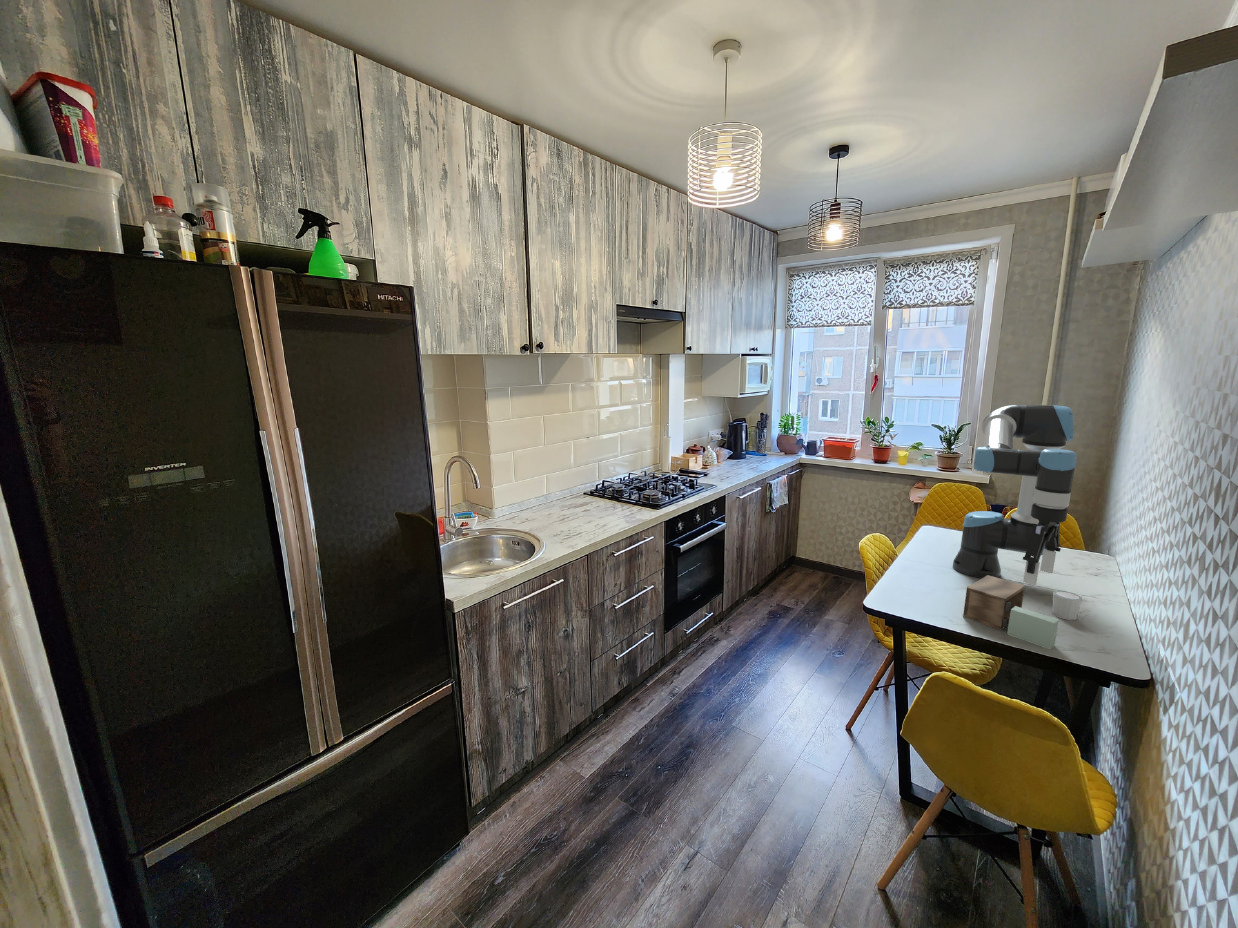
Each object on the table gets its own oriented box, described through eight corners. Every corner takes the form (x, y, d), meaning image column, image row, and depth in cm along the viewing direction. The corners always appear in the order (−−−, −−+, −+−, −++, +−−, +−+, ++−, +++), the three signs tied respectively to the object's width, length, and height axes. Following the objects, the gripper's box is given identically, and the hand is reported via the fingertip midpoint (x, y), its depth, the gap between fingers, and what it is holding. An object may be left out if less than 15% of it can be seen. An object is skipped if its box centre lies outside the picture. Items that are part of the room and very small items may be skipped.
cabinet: (962, 616, 157) (966, 587, 155) (983, 603, 166) (987, 575, 164) (1006, 631, 148) (1010, 600, 146) (1025, 616, 157) (1030, 587, 155)
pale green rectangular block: (1011, 630, 149) (1015, 605, 147) (1054, 645, 140) (1058, 619, 139) (1007, 634, 147) (1011, 609, 145) (1050, 649, 139) (1054, 623, 137)
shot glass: (1048, 615, 158) (1052, 594, 156) (1051, 608, 162) (1054, 588, 161) (1077, 623, 153) (1081, 602, 151) (1079, 615, 157) (1083, 595, 156)
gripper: (1048, 495, 147) (1037, 563, 151) (1016, 509, 133) (1005, 583, 137) (1081, 501, 141) (1069, 571, 145) (1052, 516, 127) (1039, 593, 131)
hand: (1038, 577), depth 141 cm, fingers open, 13 cm apart
